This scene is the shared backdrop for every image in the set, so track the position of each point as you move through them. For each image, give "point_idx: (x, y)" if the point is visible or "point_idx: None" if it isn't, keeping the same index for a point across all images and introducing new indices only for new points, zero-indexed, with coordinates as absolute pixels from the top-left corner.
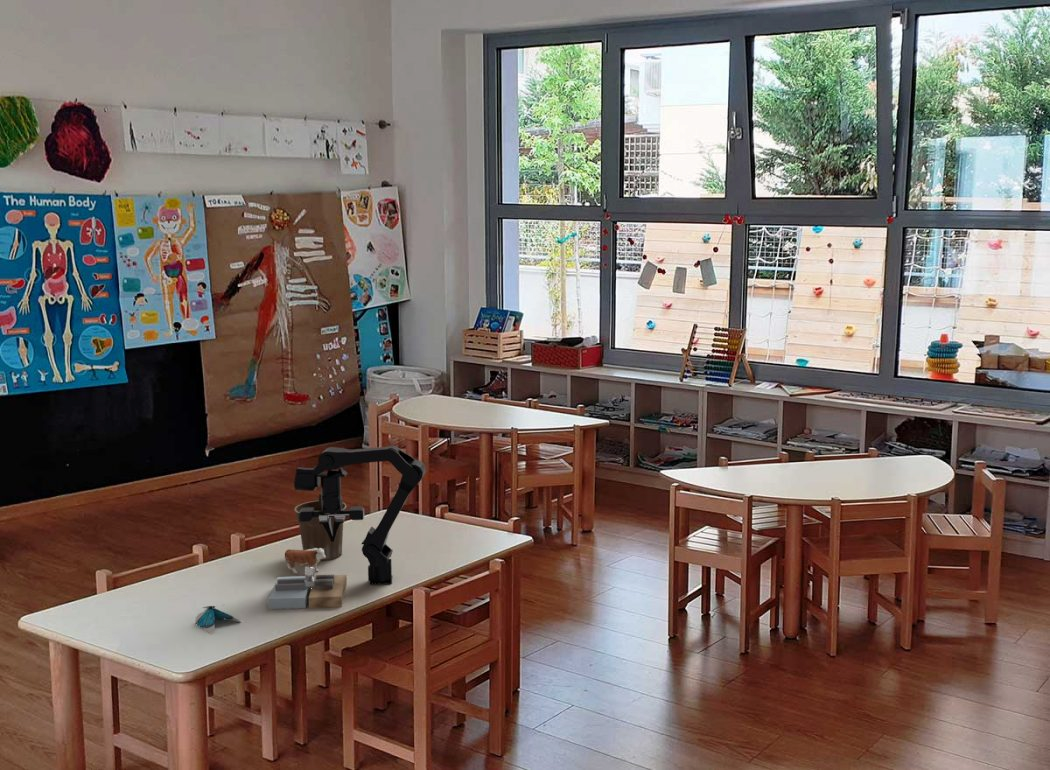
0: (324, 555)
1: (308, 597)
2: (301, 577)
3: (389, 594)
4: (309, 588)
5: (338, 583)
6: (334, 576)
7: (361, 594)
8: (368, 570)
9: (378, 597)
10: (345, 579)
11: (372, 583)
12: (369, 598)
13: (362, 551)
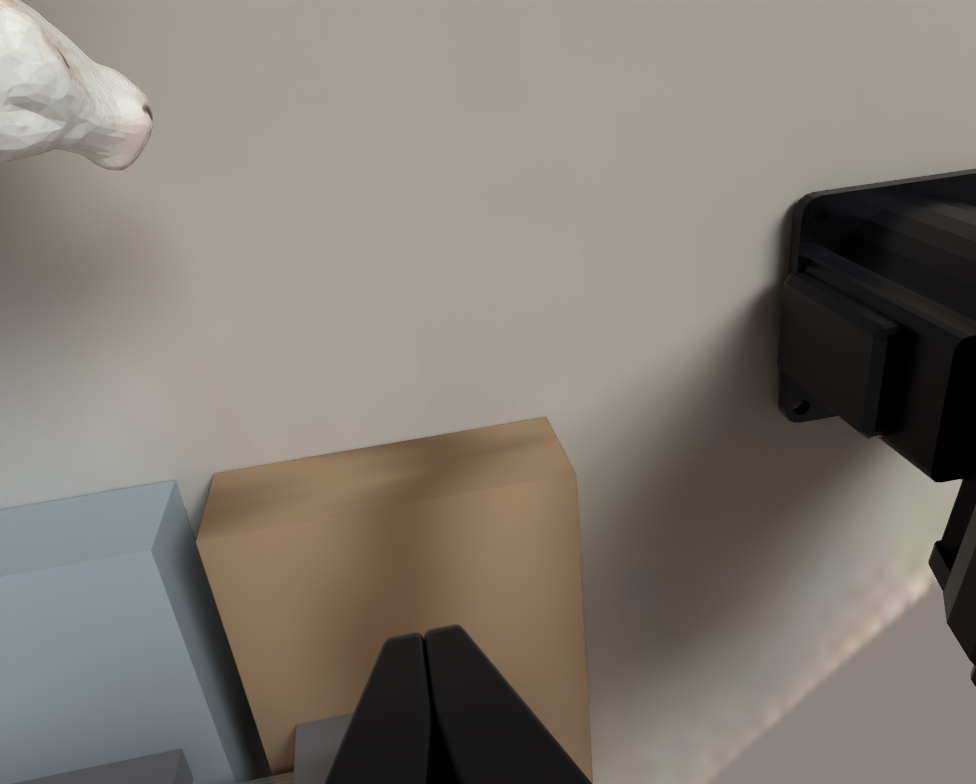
0: (117, 137)
1: (264, 757)
2: (30, 610)
3: (922, 591)
4: (235, 732)
5: (529, 700)
6: (442, 536)
7: (704, 619)
8: (847, 421)
9: (835, 653)
10: (580, 587)
11: (809, 417)
12: (768, 679)
13: (969, 651)
